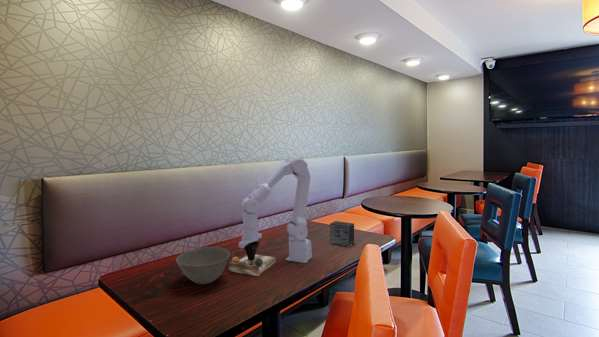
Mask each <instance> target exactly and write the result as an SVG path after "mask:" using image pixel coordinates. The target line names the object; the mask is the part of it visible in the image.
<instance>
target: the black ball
mask: <svg viewBox="0 0 599 337" xmlns="http://www.w3.org/2000/svg"><path fill="white" fill-rule="evenodd" d="M255 264H256V266H261V265H262V264H263V261H262V259H260V258H258V259H256V261H255Z"/></svg>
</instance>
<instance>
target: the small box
mask: <svg viewBox="0 0 599 337" xmlns="http://www.w3.org/2000/svg"><path fill="white" fill-rule="evenodd" d="M329 225H330V226H329V228H330V229H329V230H330V231H329V233H330V236H329V240H330V243H333V244H332V245H334V244H338V245H337V246H340V245H344V246H343V247H346V246H350V245H351V244H353V243H354V244H355V223H354V222H353V223H352V222H345V221H337V220H335V221H333V222H330V224H329ZM354 244H353V245H354ZM350 247H351V246H350Z"/></svg>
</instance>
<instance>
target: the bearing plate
mask: <svg viewBox="0 0 599 337" xmlns="http://www.w3.org/2000/svg"><path fill="white" fill-rule="evenodd" d="M258 258H260V259H262V261H263V264H262V265H261V266H256V264H255V261H256V259H258ZM244 260H248V257H247V254H246V255H245V256H243V257H241V258H239V263H235V262H232V261H229V262H228V270H229V271H228V272H232V273H237V274H242V275H243V274H245V275H248V276H255V277H258V276H259V277H260V275H262V274H263V273H264V272H265V271H266V270H268V269H269V268H271V266H273V265H274V264H275V263H277V261H276V260H277V257H275V256H268V255H261V254H255V258H254V260H253V261H251V260H249V261H250V263H251V264H250V265H247V264H242V263H243V261H244Z"/></svg>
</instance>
